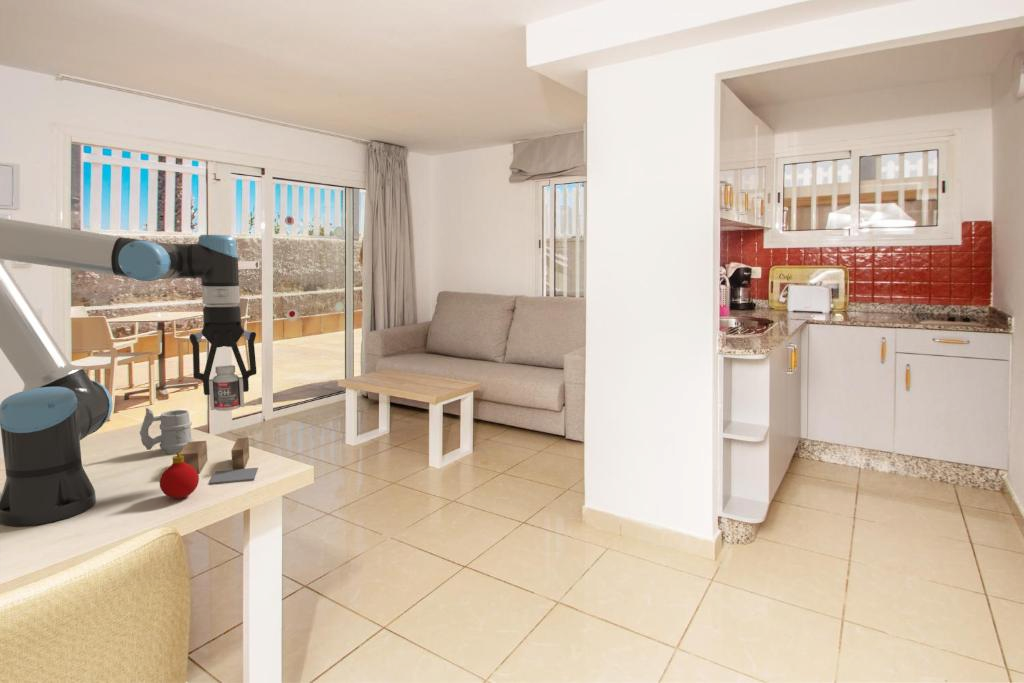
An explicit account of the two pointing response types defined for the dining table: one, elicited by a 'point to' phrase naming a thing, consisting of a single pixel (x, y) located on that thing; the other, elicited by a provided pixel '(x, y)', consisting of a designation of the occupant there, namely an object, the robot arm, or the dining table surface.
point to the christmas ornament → (179, 478)
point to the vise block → (198, 454)
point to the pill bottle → (226, 388)
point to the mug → (168, 430)
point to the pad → (234, 475)
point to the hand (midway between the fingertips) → (227, 407)
